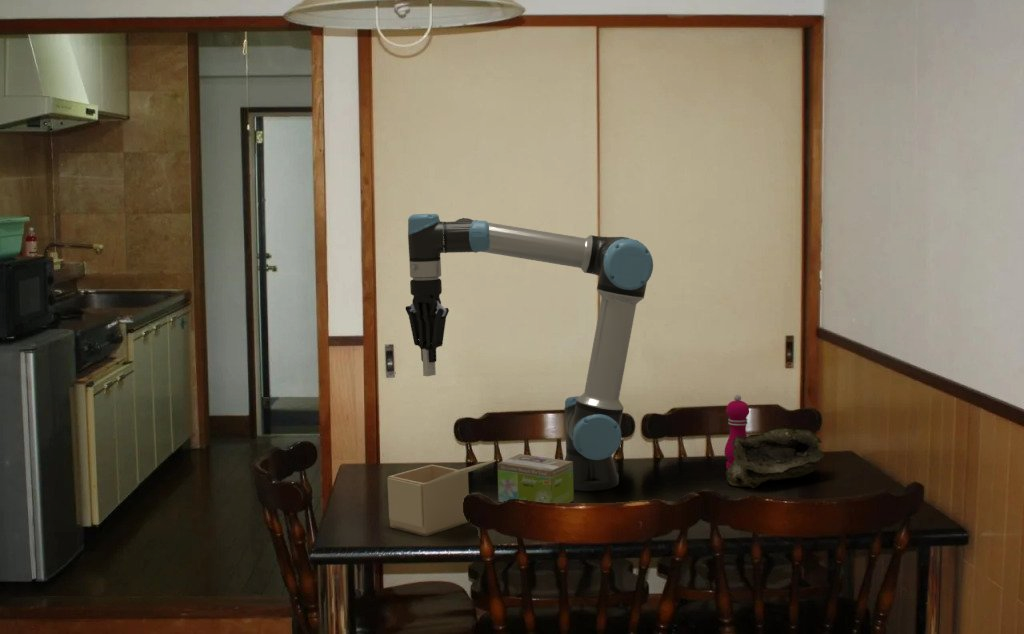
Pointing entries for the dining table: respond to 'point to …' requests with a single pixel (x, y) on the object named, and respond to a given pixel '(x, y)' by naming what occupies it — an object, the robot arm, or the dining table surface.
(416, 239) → the robot arm
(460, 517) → the carton
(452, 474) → the flap
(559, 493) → the tea box
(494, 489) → the dining table surface
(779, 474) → the hollow geode rock
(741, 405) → the pepper mill
